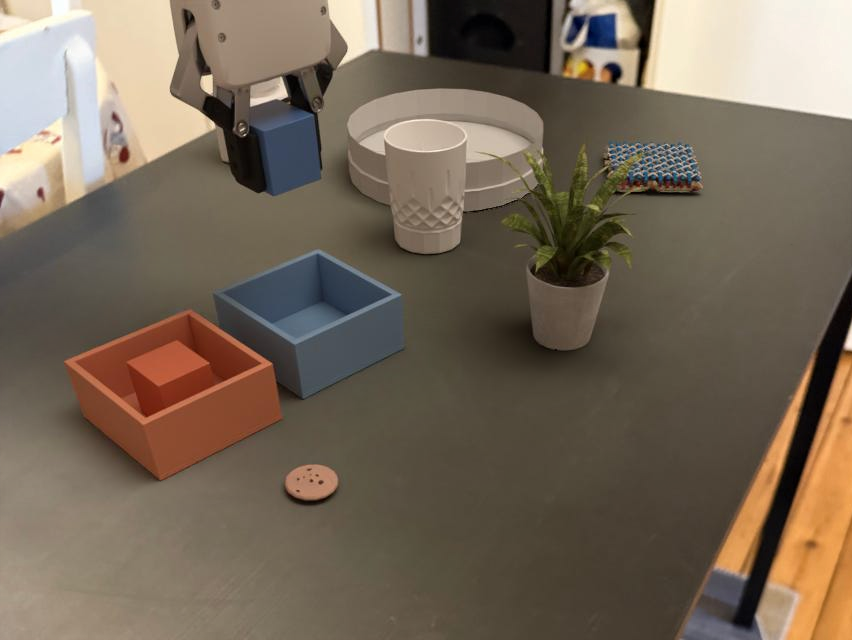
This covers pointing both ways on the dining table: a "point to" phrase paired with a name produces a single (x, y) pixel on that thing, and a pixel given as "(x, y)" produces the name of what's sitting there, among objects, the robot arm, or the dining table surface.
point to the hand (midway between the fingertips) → (279, 174)
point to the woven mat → (656, 166)
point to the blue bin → (313, 320)
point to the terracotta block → (168, 376)
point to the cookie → (311, 482)
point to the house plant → (569, 251)
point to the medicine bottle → (257, 96)
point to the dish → (498, 137)
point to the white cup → (426, 183)
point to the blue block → (285, 145)
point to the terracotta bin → (187, 420)
